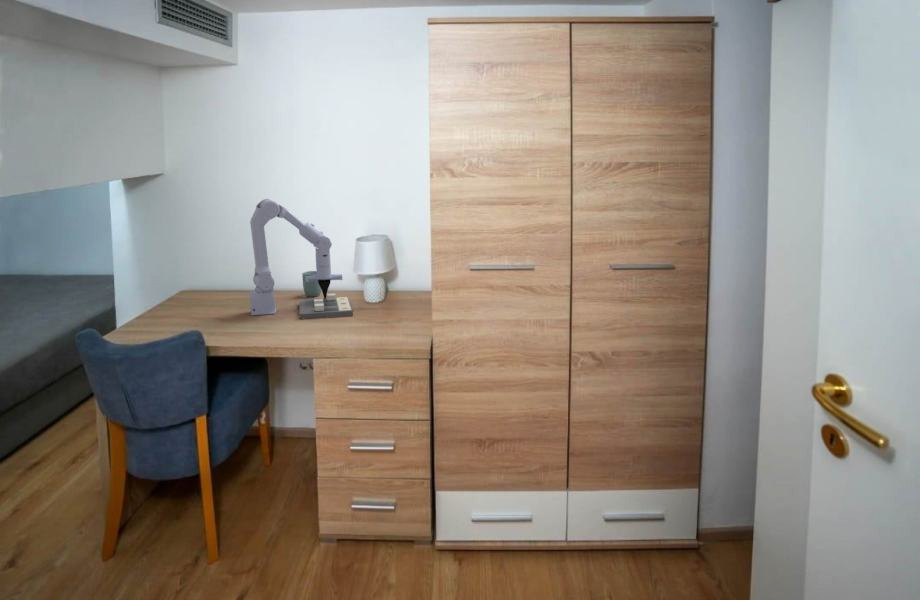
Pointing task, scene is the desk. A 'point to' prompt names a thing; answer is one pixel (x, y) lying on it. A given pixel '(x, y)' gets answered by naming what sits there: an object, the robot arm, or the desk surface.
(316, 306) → the white cube
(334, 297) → the switch tab
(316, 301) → the switch tab
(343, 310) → the switch board
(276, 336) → the desk surface
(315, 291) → the cup
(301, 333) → the desk surface
